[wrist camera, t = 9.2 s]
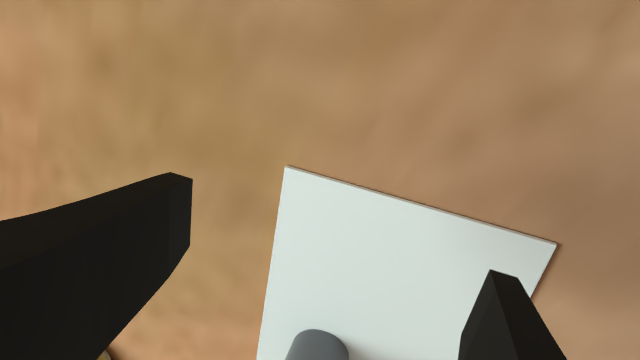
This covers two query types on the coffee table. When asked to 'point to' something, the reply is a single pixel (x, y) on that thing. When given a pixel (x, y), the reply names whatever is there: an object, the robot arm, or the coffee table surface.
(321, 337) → the grey teal-capped tube
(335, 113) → the coffee table surface
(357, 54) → the coffee table surface
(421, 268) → the paper
